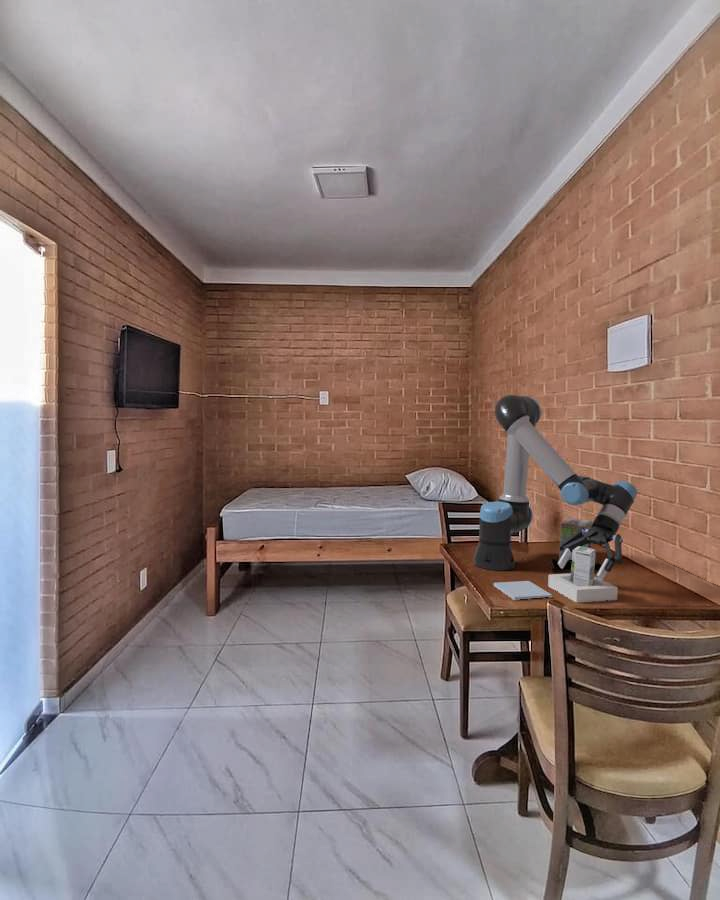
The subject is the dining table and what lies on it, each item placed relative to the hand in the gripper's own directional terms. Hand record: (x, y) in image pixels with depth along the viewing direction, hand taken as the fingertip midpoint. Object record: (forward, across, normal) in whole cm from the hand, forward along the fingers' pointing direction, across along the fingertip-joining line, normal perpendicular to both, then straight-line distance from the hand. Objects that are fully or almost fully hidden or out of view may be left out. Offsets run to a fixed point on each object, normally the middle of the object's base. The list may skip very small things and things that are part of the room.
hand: (578, 572), depth 155 cm
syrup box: (+4, 0, -7) cm, 8 cm away
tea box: (-22, +26, -32) cm, 47 cm away
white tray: (+4, 0, -7) cm, 8 cm away
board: (+15, +10, +5) cm, 19 cm away
